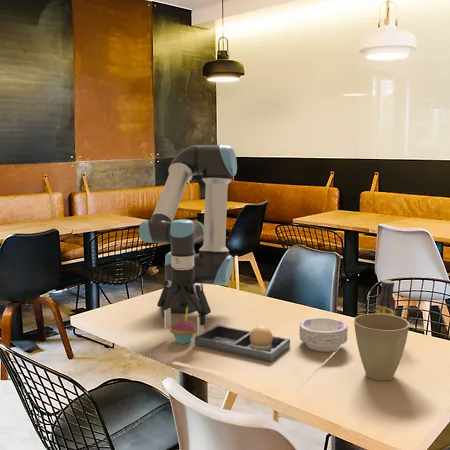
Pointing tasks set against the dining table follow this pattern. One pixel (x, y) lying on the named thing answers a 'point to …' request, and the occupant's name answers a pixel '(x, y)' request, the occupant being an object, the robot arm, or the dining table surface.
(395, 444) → the dining table surface
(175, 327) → the cupcake
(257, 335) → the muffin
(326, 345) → the paper bowls
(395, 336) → the plant pot
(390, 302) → the sauce bottle
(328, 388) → the dining table surface
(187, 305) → the robot arm
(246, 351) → the divided tray
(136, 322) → the dining table surface
